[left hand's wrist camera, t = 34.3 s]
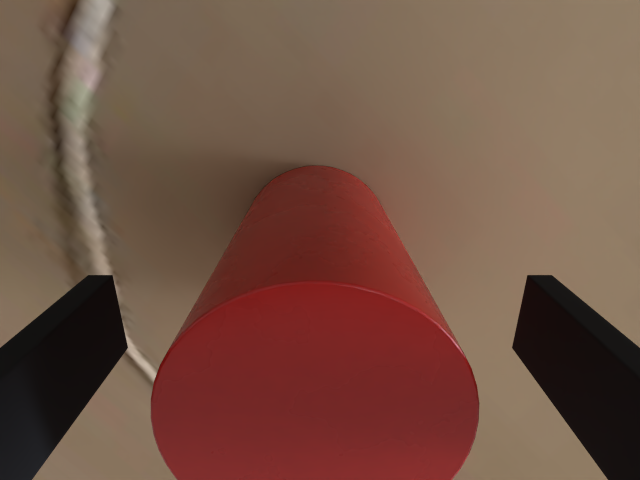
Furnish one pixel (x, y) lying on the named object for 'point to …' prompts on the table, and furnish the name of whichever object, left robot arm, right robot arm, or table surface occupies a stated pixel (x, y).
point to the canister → (315, 351)
